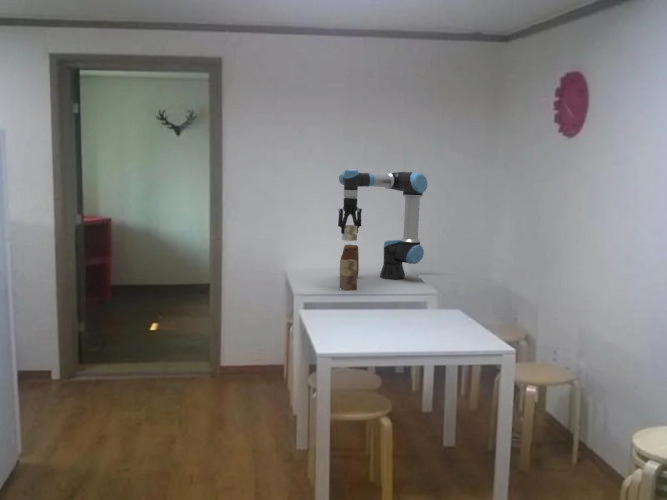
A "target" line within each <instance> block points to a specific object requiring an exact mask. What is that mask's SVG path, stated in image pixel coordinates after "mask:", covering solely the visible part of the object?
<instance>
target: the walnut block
mask: <svg viewBox="0 0 667 500" xmlns="http://www.w3.org/2000/svg"><path fill="white" fill-rule="evenodd" d="M357 283H358V277H357V276H343V275H341V274H340V273H339V289H340V288H341V289H340V290H344V291H357V289H358V288H357V287H358V284H357Z"/></svg>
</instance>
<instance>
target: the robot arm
mask: <svg viewBox="0 0 667 500" xmlns="http://www.w3.org/2000/svg"><path fill="white" fill-rule="evenodd" d="M338 181H339V183H340V184H341V185H343V197H344V198H343V207H342V208H338V209H337V210H338V223H337V224H338V225H337V226H338V227H339V228H341V229H340V230H341V232H340V233H341V240H342V239H343V241H346V228H345V225H347V222H348V218H349V216H351V217H352V221H353V225H354V226H357V234H358V233H359V228H360V227H362V210H363V209H362V208H359V207H358V191H359V190H358V188H359V187H362V188H363V187H365V188H369V187H375V188H376V187H377V188H378V187H380V188H385V189H386V190H394V191H399V192H402V196H403V197H405V198H404V217H403V218H404V219H403V220H404V222H403V238H402V239H392V240H386V241H384V245H383V265H382V268H381V271H380V275H379V277H380V278H381V279H386V280H387V279H388V280H403V279H405V277H406V273H405V269H404V266H403V263H407V264H408V265H411V264H412V265H415V264H419V263H420V262H421V260H422V259H423V257H424V255H425V252H424V251H425V250H424V248H423V246H422V245H421V240H420V239H419V221H420V206H421V205H420V204H421V203H420V200H421V198H422V197H423V195H424V194H423V193H424V192H426V190H427V188H428V180H427V177H426V176H425V175H424V174H423V173H421V172H416V171H415V172H412V171H398V172H386V173H372V172H359V170H358V169H356V168H355V169H353V168H352V169H350V168H349V169H347V168H346V169H344V171H343V172H341V173H340V174H339V176H338Z"/></svg>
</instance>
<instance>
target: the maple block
mask: <svg viewBox="0 0 667 500" xmlns="http://www.w3.org/2000/svg"><path fill="white" fill-rule="evenodd" d="M345 228H346V240H345V241H346V242H352V241H355V242H357V240H358V233H357V226H354V224H346V225H345ZM341 240H343V239H342V238H341ZM343 241H344V240H343Z"/></svg>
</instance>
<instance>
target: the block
mask: <svg viewBox="0 0 667 500" xmlns="http://www.w3.org/2000/svg"><path fill="white" fill-rule="evenodd" d="M340 260H355V261H357V278H358V277H359V266H360V265H359V263H360V262H359V245H356V244H345V245H344V246H343V249H342V254H341V256H340Z"/></svg>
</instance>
